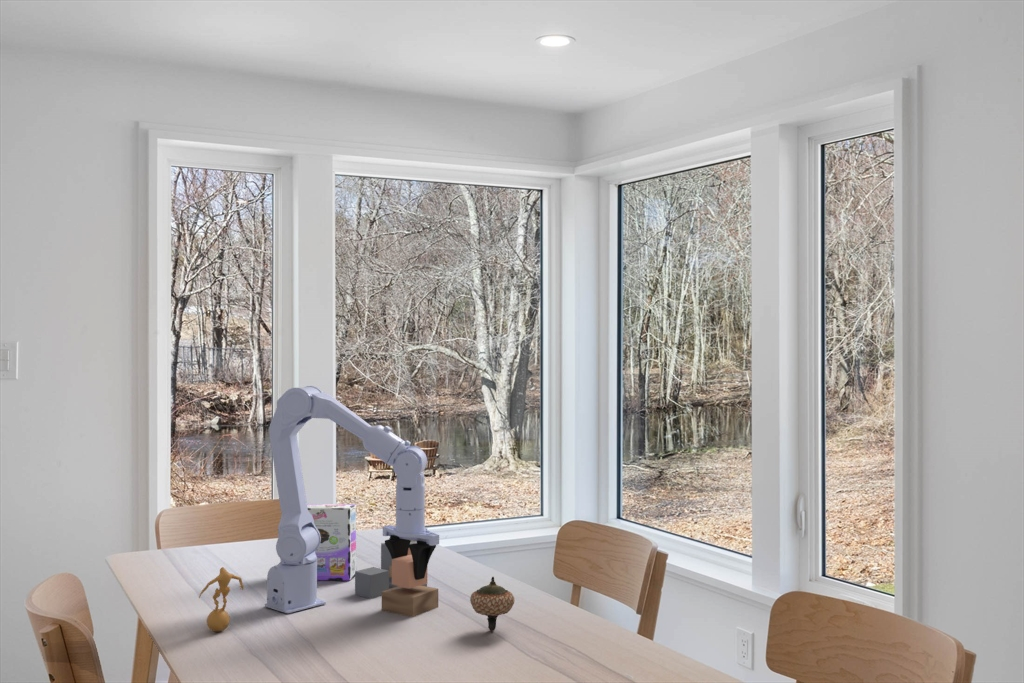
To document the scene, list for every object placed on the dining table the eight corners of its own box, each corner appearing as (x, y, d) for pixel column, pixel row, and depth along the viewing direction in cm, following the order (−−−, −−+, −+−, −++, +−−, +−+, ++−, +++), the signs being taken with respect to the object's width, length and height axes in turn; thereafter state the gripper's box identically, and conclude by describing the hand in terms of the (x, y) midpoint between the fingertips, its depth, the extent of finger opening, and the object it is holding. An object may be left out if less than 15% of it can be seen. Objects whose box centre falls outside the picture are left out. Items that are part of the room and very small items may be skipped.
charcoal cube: (370, 599, 185) (370, 575, 185) (355, 595, 188) (355, 571, 188) (388, 594, 189) (388, 570, 189) (373, 590, 192) (373, 566, 192)
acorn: (501, 641, 158) (501, 584, 158) (461, 634, 162) (461, 579, 162) (522, 628, 166) (522, 574, 166) (483, 622, 169) (483, 569, 169)
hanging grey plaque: (426, 586, 195) (427, 545, 195) (380, 588, 193) (380, 546, 193) (426, 579, 200) (426, 539, 201) (381, 581, 199) (381, 540, 199)
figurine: (234, 624, 168) (235, 560, 168) (249, 631, 163) (249, 565, 163) (191, 633, 162) (191, 567, 162) (204, 641, 158) (205, 573, 158)
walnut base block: (413, 618, 173) (413, 597, 173) (381, 611, 177) (381, 591, 177) (438, 608, 179) (438, 588, 179) (407, 602, 184) (407, 583, 184)
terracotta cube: (408, 588, 174) (408, 563, 175) (391, 584, 178) (391, 559, 178) (427, 583, 178) (427, 558, 178) (410, 579, 182) (410, 554, 182)
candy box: (357, 575, 205) (357, 503, 205) (349, 581, 199) (350, 507, 199) (299, 573, 206) (299, 502, 206) (290, 580, 200) (290, 506, 201)
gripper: (450, 509, 177) (450, 578, 176) (400, 501, 186) (400, 567, 186) (424, 514, 171) (424, 585, 171) (374, 506, 181) (374, 573, 181)
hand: (410, 576), depth 178 cm, fingers closed on terracotta cube, 5 cm apart
